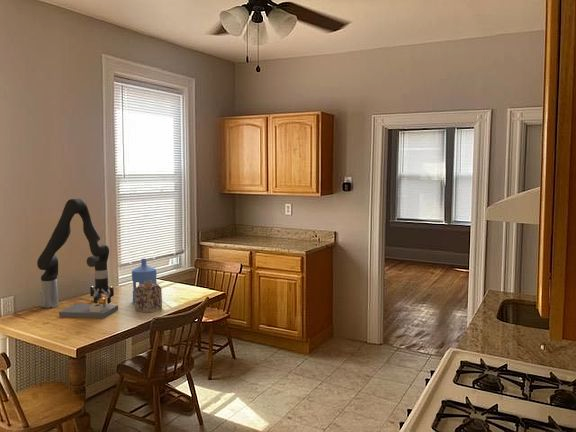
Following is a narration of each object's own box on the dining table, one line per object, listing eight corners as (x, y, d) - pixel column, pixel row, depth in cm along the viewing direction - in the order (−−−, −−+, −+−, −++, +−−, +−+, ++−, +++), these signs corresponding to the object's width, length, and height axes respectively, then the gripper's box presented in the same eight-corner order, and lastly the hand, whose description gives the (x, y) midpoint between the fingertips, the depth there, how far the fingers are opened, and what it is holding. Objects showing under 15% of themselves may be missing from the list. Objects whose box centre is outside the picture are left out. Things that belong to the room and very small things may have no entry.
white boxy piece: (89, 312, 297) (89, 306, 296) (94, 309, 302) (93, 303, 301) (99, 312, 296) (99, 306, 296) (103, 310, 301) (103, 304, 300)
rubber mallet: (95, 302, 331) (93, 256, 328) (87, 300, 334) (85, 255, 331) (110, 297, 342) (108, 253, 339) (102, 296, 345) (100, 253, 342)
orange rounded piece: (97, 312, 308) (97, 299, 307) (101, 310, 311) (101, 297, 311) (103, 312, 307) (103, 299, 306) (107, 310, 311) (107, 297, 310)
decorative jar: (162, 308, 314) (161, 280, 312) (149, 313, 304) (148, 284, 302) (148, 306, 319) (147, 278, 318) (134, 311, 309) (133, 282, 307)
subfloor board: (59, 316, 298) (58, 311, 298) (75, 308, 316) (75, 303, 315) (103, 318, 294) (103, 313, 294) (118, 309, 312) (118, 305, 312)
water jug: (154, 296, 343) (153, 256, 340) (159, 302, 329) (158, 260, 326) (131, 299, 336) (129, 258, 334) (134, 305, 322) (133, 262, 320)
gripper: (87, 278, 304) (88, 304, 306) (109, 278, 302) (110, 305, 304) (93, 275, 312) (94, 301, 313) (115, 276, 310) (116, 302, 311)
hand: (102, 303), depth 309 cm, fingers open, 8 cm apart
